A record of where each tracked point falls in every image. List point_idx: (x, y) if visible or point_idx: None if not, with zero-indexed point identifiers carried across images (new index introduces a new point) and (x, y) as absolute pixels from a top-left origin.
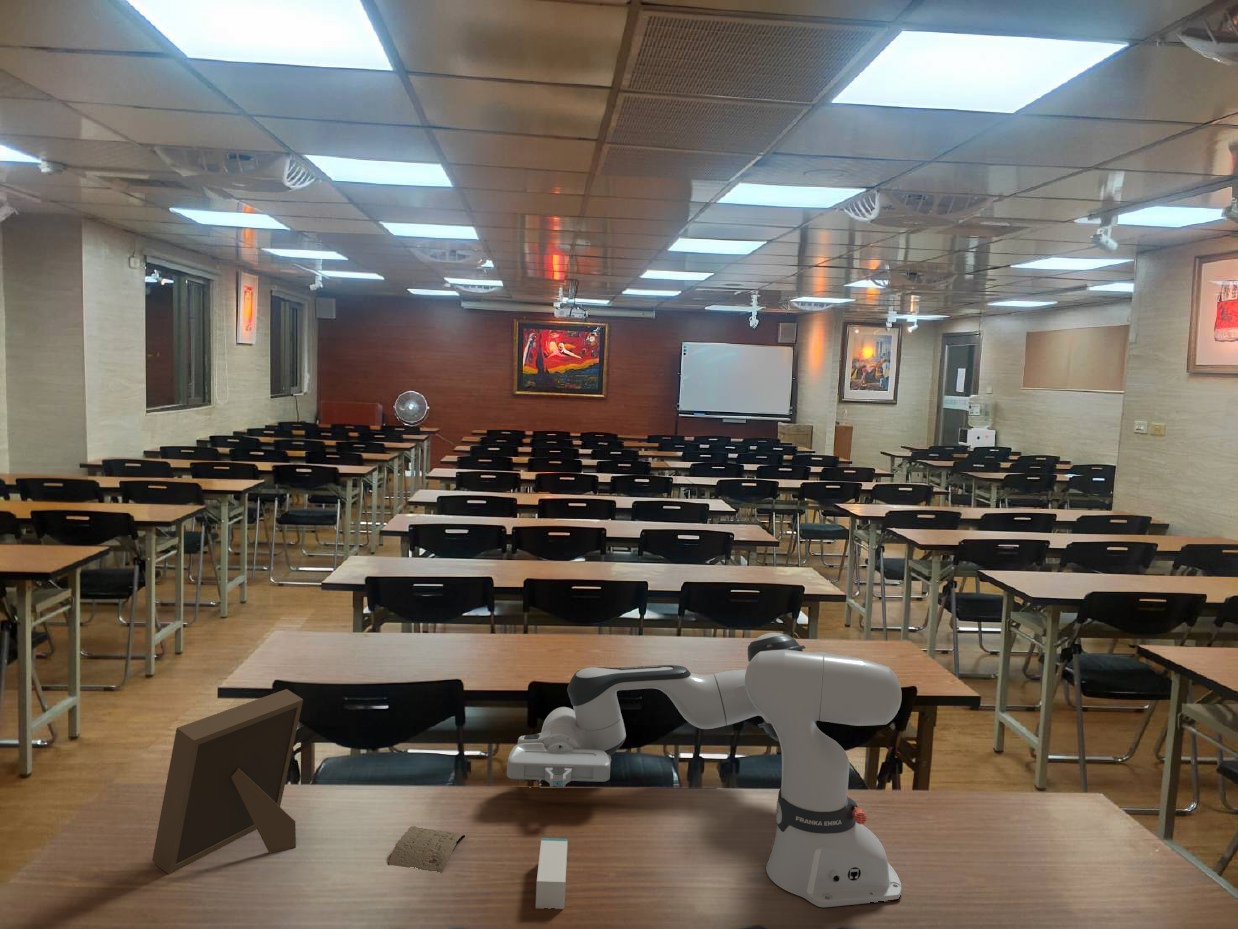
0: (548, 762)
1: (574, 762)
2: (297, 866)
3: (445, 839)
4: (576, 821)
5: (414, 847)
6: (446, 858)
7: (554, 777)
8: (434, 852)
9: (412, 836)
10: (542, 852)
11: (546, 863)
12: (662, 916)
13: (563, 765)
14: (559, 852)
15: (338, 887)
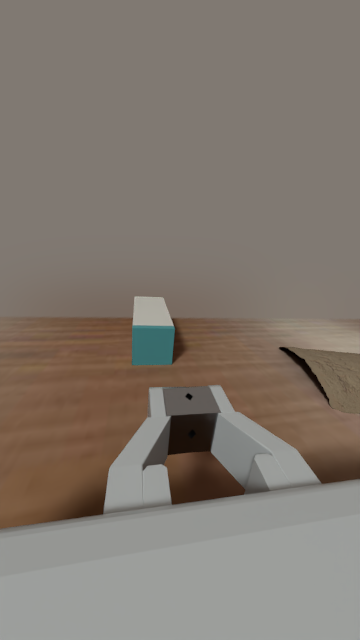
0: (338, 499)
1: (55, 559)
2: None
3: (322, 359)
4: None
5: (341, 353)
6: (288, 347)
7: (204, 392)
8: (310, 350)
9: None
10: (166, 314)
11: (157, 306)
12: (34, 318)
13: (187, 505)
14: (143, 314)
15: (340, 334)
